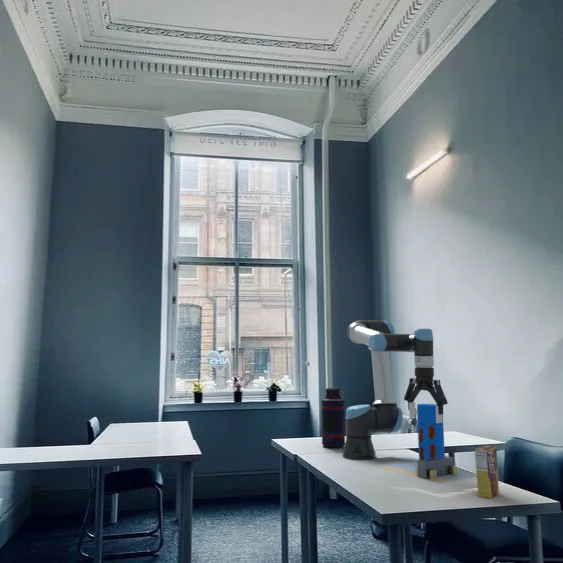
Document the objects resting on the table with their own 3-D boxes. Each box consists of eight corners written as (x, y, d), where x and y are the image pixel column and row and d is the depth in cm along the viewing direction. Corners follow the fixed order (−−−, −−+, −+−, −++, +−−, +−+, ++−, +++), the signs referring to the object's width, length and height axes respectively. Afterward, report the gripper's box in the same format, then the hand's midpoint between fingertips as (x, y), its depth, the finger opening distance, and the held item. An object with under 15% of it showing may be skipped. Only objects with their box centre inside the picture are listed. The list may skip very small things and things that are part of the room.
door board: (378, 470, 212) (378, 467, 212) (415, 464, 224) (415, 461, 224) (442, 485, 186) (442, 482, 186) (480, 477, 198) (480, 475, 198)
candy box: (486, 491, 176) (483, 445, 179) (499, 493, 174) (496, 446, 176) (476, 496, 170) (474, 448, 172) (490, 499, 167) (487, 449, 169)
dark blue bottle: (338, 449, 263) (337, 388, 268) (318, 447, 269) (317, 388, 274) (350, 445, 275) (349, 387, 279) (330, 443, 281) (329, 387, 286)
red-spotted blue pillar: (446, 466, 219) (443, 405, 223) (420, 465, 222) (417, 405, 225) (443, 461, 230) (440, 404, 234) (418, 461, 232) (416, 403, 236)
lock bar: (445, 472, 204) (445, 456, 205) (454, 473, 200) (453, 457, 201) (417, 476, 195) (417, 460, 196) (426, 478, 192) (425, 461, 192)
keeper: (415, 475, 197) (415, 467, 198) (440, 471, 205) (440, 463, 206) (432, 479, 191) (432, 470, 191) (457, 474, 199) (457, 466, 199)
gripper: (394, 365, 219) (395, 417, 216) (443, 368, 198) (444, 425, 196) (407, 365, 223) (408, 416, 220) (455, 367, 202) (457, 423, 200)
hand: (425, 420), depth 208 cm, fingers open, 13 cm apart
